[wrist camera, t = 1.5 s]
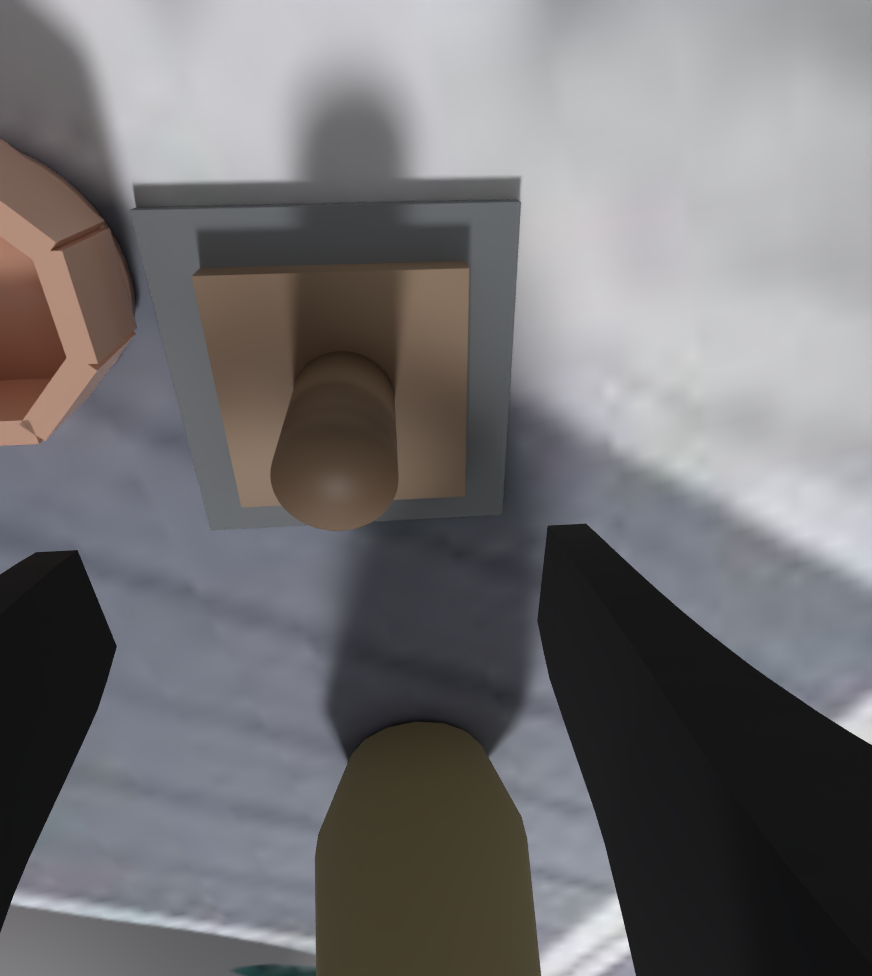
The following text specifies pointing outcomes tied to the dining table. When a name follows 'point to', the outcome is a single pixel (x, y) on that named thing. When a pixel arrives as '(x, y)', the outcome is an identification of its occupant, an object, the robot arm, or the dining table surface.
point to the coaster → (324, 241)
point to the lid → (340, 383)
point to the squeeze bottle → (423, 863)
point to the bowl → (54, 299)
